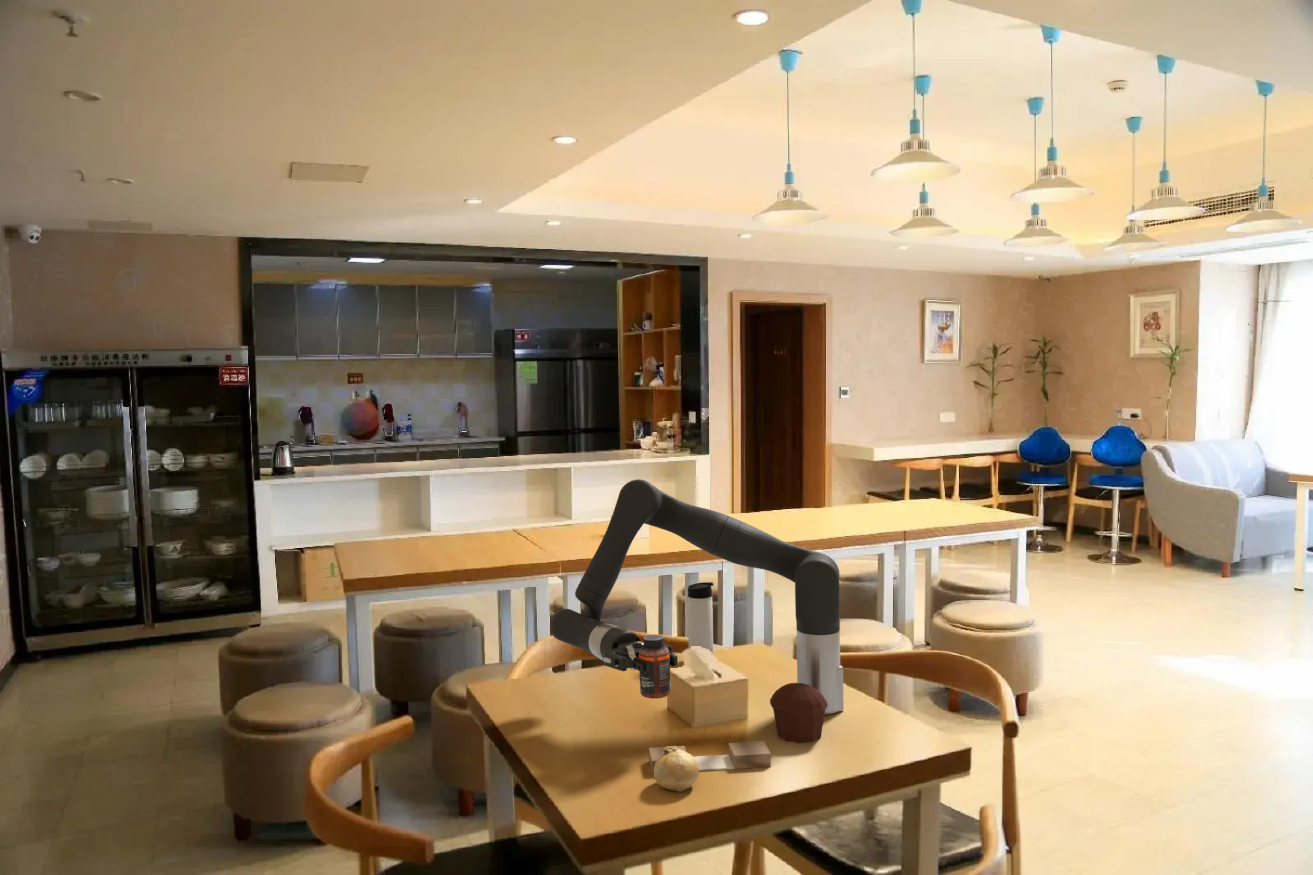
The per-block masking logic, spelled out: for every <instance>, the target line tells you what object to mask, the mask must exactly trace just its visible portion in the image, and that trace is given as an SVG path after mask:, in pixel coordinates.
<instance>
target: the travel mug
mask: <svg viewBox="0 0 1313 875" xmlns="http://www.w3.org/2000/svg"><path fill="white" fill-rule="evenodd" d="M712 587H714V582H713V581H709V582H708V581H707V582H706V581H704V582H696V583H693V584H690V585H688V587H687V625H688V628H687V630H688V634H687V635H688V636H687V637H688V649H689V648H690V647H691V646H701V647H703V648H706V649H709V650H710V651H711V652H712V653H713V654H714V623H713V622H714V621H713V620H714V619H713V618H714V615H713V614H714V613H713V589H712Z"/></svg>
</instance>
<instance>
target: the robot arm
mask: <svg viewBox="0 0 1313 875" xmlns="http://www.w3.org/2000/svg"><path fill="white" fill-rule="evenodd" d="M644 524H645V525H649V526H651V527H655V528H658V529H660V530H664V531H667V532H668V533H669V532H670V533H672V534H674V535H676V536H678V537H680V538H682V539H683V540H685V541H686V542H688V543H690V544H692V545H693V546H695V547H697V548H699V549H700V550H702V551H705V552H706V553H709V554H711V555H713V556H716V557H717V558H720V559H721V560H725V561H726V562H730V563H732V564H735V565H739V566H744V567H749V568H752V569H753V568H754V569H757V570H763V571H768V572H771V573H774V574H776V575H778V576H780V577H784V578H785V579H787V580H789V581H791V582H793V583H794V596H795V597H794V601H795V602H794V603H795V604H794V605H795V622H796V676H797V677H796V683H804V684H808V685H810V686H812V687H813V688H815V689H817V690H818V691H819V692H820V693H821V694H822V695H823V696H824V698H825V700H826V701H827V704H828V706H827V708H826V709H825V713H824V716H825V715H831V714H835V713H837V712H844V667H843V666H842V665H841V639H840V638H841V631H840V630H841V620H840V619H841V618H840V617H841V616H840V614H841V613H840V569H839V566H838V564H837V562H836V561H835V560H834V559H832V558H831V557H830V556H829V555H827V554H824V553H821V552H818V551H815V550H811V549H808V548H804V547H801V546H798V545H795V544H792V543H789V542H786V541H784V540H781V539H779V538H778V537H775V536H774V535H771V534H769V533H768V532H765V531H763V530H761V529H759V528H757V527H755V526H753V525H751V524H748V523H746V522H743V521H742V520H739V519H737V518H735V517H732V516H729V515H727V514H725V513H721V512H719V511H715V510H713V509H709V508H705V507H700V506H696V505H693V504H689V503H686V502H684V501H682V500H679V499H677V498H675V497H673V496H671V495H669V493H666V492H664V491H662V490H661V489H659V488H658V487H656V486H655V485H654V484H652V483H651V482H650V481H647V480H645V479H632V480H629V481H628V482H626V483H625V484H624V485H623V486H622V487H621V489H620V491H619V493H618V497H617V499H616V503H615V506H614V509H613V512H612V515H611V518H610V520H609V524H608V525H607V528H606V531H605V533H604V535H603V537H602V539H601V541H600V543H599V546H598V547H597V549H596V551H595V553H594V555H593V556H592V559H591V560H590V562H589V564H588V565H587V568H586V570H585V572H584V573H583V576H582V577H581V579H580V581H579V583H578V585H577V587H576V588H575V592H574V595H575V596H574V597H575V598H576V599H577V600H578V601H579V602H581V604H583V605H584V606H583V607H584V608H583V613H580V612H577V611H576V610H573V609H570V608H563V609H559V610H558V611H555V613H554V614H553V615H552V616H551V619H550V622H549V630H550V633H551V635H552V636H553V638H554V639H556V640H558V641H560V642H563V643H565V644H568V645H570V646H573V647H576V648H577V649H578V648H579V649H581V650H583V651H585V652H586V653H589V654H591V655H593V656H595V657H596V658H598V659H599V660H601V661H603V664H604V666H605V667H608V668H611V669H614V670H617V671H621V672H626V671H628V669H629V670H631V671H641V672H643V673H645V674H646V673H649V672H650V665H649V662H648V661H646V660H643V659H641V658H639V650H640V649H641V648H642V647H643V646H644V644H643V641H642V640H641V638H640V637H639V636H638V635H637V634H636V633H635V632H633V631H630V630H628V629H627V628H624V627H623V628H622V627H620V626H618V625H615V624H611V623H607V622H603V621H602V616H603V612H604V608H605V604H606V601H607V600H608V598H609V595H610V594H611V592H612V590H613V588H614V586H615V584H616V582H617V580H618V578H619V575H620V573H621V570H622V567H623V565H624V562H625V559H626V556H627V555H628V554H627V553H628V552H629V549H630V547H631V545H632V543H633V541H634V539H635V537H636V535H637V534H638V532H639V531H640V530H641V528H642V527H643V526H644ZM664 646H665V647H667V648H668V649H669V658H670V667H678V659H679V658H678V655H677V654H675V653H673V651H674V646H673V645H670V644H668V643H666V642H665V641H664Z"/></svg>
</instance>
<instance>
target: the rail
mask: <svg viewBox="0 0 1313 875" xmlns="http://www.w3.org/2000/svg"><path fill="white" fill-rule="evenodd" d="M675 746H676V745H675ZM665 747H666V746H661V747H660V746H659V747H649V748H648V753H649V754H648V755H649V756H648V758H649V766H650V770H651V774H652V775H654V766H655V763H656V761H657V759H658V758H659V756H660V755H661V754H662V753H663V749H664V748H665ZM676 747H677V748H678V749H680V750H683V751H685V752H687V749H686V746H685V745H677V746H676ZM771 755H772V754H771V751H770V750H769V748H768V746H767V745H766V743H765V741H764V740H759V741H744V742H729V743H728V754H715V755H700V756H696V755H695V756H693V757H694V759H695V760H696V762H697V764H698V767H699V772H708V771H709V772H710V771H723V770H724V771H726V770H742V769H754V768H756V769H758V768H769V767H771V766H772V764H771V763H772V762H771V761H772V759H771V758H772V756H771Z"/></svg>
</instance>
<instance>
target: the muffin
mask: <svg viewBox="0 0 1313 875" xmlns="http://www.w3.org/2000/svg"><path fill="white" fill-rule="evenodd" d="M769 704H770V706H771V708H772V710H773V716H774V722H775V728H776V734H777V737H778V738H780V739H782V740H784V741H785V742H791V743H796V744H804V743H805V744H806V743H814V742H815V741H817V740H820V739H822V732H823V726H824V725H823V724H824V719H825V718H824V717H825V715H824V713H825V709H826V708H827V706H828V704H827V701H826V700H825V698H824V696H823V695H822V694H821V693H820V692H819V691H818V690H817V689H815V688H813V687H812V686H810V685H808V684H804V683H797V682H790V683H787V684H784V685H781V687H779V688H778V689H776V691H775V692H773V694H772V696H771V697H770V699H769Z"/></svg>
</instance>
